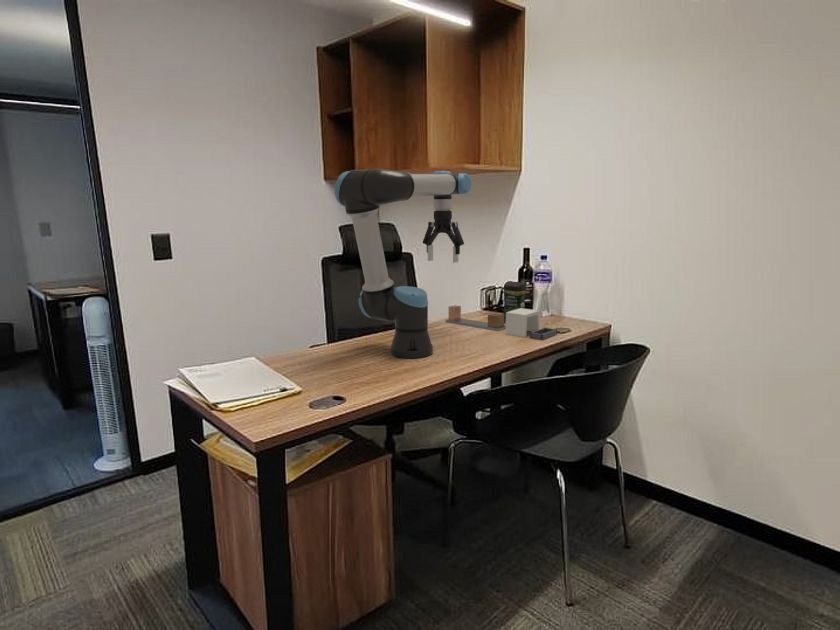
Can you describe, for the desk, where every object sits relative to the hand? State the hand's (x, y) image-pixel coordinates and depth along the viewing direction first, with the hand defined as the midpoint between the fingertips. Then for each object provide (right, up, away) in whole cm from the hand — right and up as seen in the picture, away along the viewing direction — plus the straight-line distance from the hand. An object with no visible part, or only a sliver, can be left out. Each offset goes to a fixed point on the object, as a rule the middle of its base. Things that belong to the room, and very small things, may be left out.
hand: (442, 261), depth 218 cm
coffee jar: (+32, -26, +13) cm, 44 cm away
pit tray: (+39, -31, -12) cm, 52 cm away
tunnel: (+32, -30, -6) cm, 45 cm away
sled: (+15, -27, +9) cm, 32 cm away
